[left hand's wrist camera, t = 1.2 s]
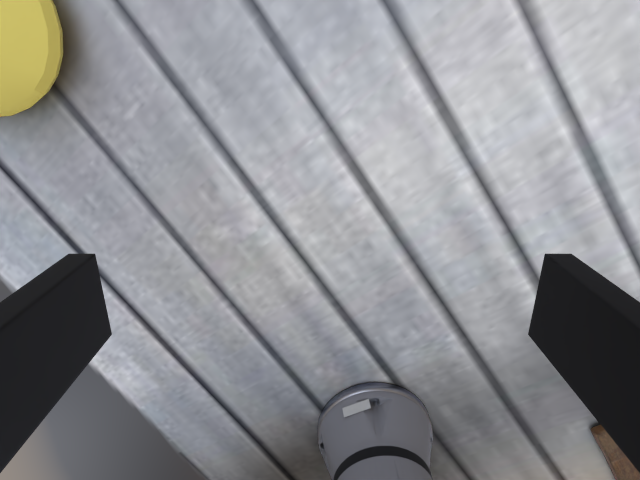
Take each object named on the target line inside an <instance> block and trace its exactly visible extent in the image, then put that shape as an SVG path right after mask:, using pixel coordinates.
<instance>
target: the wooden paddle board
mask: <svg viewBox="0 0 640 480" xmlns="http://www.w3.org/2000/svg"><path fill="white" fill-rule="evenodd" d="M591 432H592V434H593V436H594V438H595V440H596V442H597V444H598V445H599V447H600V449H601V450H602V452H603V454H604V456H605V458H606V460H607V462H608V464H609V466H610V468H611V470H612V473H613V475H614V477H615V479H616V480H640V473H639V472H638V470H637V469H636V468H635V467H634V465H633V464H632V463H631V462H630V460H629V459H628V458H627V457H626V455H625V454H624V453H623V452H622V450H621V449H620V448H619V447H618V445H617V444H616V443H615V442H614V440H613V439H612V438H611V437H610V435H609V434H608V433H607V432H606V430H605V429H604V428H603V427H602V426H601V424H600V425H598V426H594V427H593V428H591Z"/></svg>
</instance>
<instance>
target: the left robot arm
mask: <svg viewBox="0 0 640 480" xmlns="http://www.w3.org/2000/svg"><path fill="white" fill-rule="evenodd" d="M111 335H112V333H111V328H110V323H109V319H108V314H107V309H106V304H105V299H104V295H103V290H102V285H101V280H100V275H99V271H98V266H97V261H96V256H95V254H68V255H66V256H65V257H64V258H62V259H61V260H59V261H58V262H57V263H55V264H54V265H52V266H51V267H50V268H48V269H47V270H45V271H44V272H42V273H41V274H40V275H38V276H37V277H35V278H34V279H33V280H31V281H30V282H28V283H27V284H26V285H24V286H23V287H21V288H20V289H19V290H17V291H16V292H14V293H13V294H12V295H10V296H9V297H7V298H6V299H4V300H3V301H2V302H0V473H1V472H2V470H3V469H4V468H5V467H6V465H7V464H8V463H9V462H10V460H11V459H12V458H13V457H14V455H15V454H16V453H17V452H18V450H19V449H20V448H21V447H22V445H23V444H24V443H25V442H26V440H27V439H28V438H29V437H30V435H31V434H32V433H33V432H34V430H35V429H36V428H37V427H38V426H39V424H40V423H41V422H42V421H43V419H44V418H45V417H46V416H47V414H48V413H49V412H50V411H51V409H52V408H53V407H54V406H55V404H56V403H57V402H58V401H59V399H60V398H61V397H62V396H63V394H64V393H65V392H66V391H67V389H68V388H69V387H70V386H71V384H72V383H73V382H74V381H75V380H76V378H77V377H78V376H79V374H80V373H81V372H82V371H83V369H84V368H85V367H86V366H87V365H88V363H89V362H90V361H91V360H92V358H93V357H94V356H95V355H96V353H97V352H98V351H99V350H100V348H101V347H102V346H103V345H104V343H105V342H106V341H107V340H108V338H109V337H110V336H111ZM528 335H529V336H530V337H531V338H532V340H533V341H534V342H535V343H536V345H537V346H538V347H539V348H540V350H541V351H542V352H543V353H544V355H545V356H546V357H547V358H548V360H549V361H550V362H551V363H552V365H553V366H554V367H555V368H556V370H557V371H558V372H559V373H560V375H561V376H562V377H563V378H564V380H565V381H566V382H567V383H568V384H569V386H570V387H571V388H572V389H573V391H574V392H575V393H576V394H577V396H578V397H579V398H580V399H581V401H582V402H583V403H584V404H585V406H586V407H587V408H588V409H589V411H590V412H591V413H592V414H593V416H594V417H595V418H596V419H597V421H598V422H599V423H600V424H601V426H602V427H603V428H604V429H605V430H606V432H607V433H608V434H609V435H610V437H611V438H612V439H613V440H614V442H615V443H616V444H617V445H618V447H619V448H620V449H621V450H622V452H623V453H624V454H625V455H626V457H627V458H628V459H629V460H630V462H631V463H632V464H633V465H634V467H635V468H636V469H637V470H638V472H639V473H640V302H638V301H637V300H636V299H634V298H633V297H631V296H630V295H628V294H627V293H626V292H624V291H623V290H621V289H620V288H619V287H617V286H616V285H614V284H613V283H612V282H610V281H609V280H607V279H606V278H605V277H603V276H602V275H600V274H599V273H598V272H596V271H595V270H593V269H592V268H590V267H589V266H588V265H586V264H585V263H583V262H582V261H581V260H579V259H578V258H576V257H575V256H574V255H572V254H545V256H544V261H543V266H542V271H541V275H540V280H539V285H538V290H537V295H536V299H535V304H534V309H533V314H532V319H531V323H530V328H529V333H528Z"/></svg>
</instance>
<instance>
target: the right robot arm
mask: <svg viewBox="0 0 640 480" xmlns="http://www.w3.org/2000/svg"><path fill="white" fill-rule="evenodd" d="M432 440H433V432H432V424H431V421H430V418H429V415H428V412H427V410H426V408H425V406H424V404H423V403H422V402H421V401H420V400H419V399H418V397H416V396H415V395H414V394H413V393H411V392H410V391H408V390H406V389H404V388H402V387H399V386H396V385H392V384H388V383H365V384H360V385H356V386H353V387H350V388H348V389H346V390H344V391H342V392H340V393H339V394H337V395H336V396H335V397H333V398H332V399H331V400H330V401H329V402H328V403H327V405H326V406H325V407H324V409H323V410H322V413H321V415H320V417H319V421H318V445H319V448H320V452H321V454H322V457H323V459H324V462H325V464H326V467H327V469H328V472H329V474H330V476H331V479H332V480H433V479H432V476H431V472H430V453H431V447H432Z"/></svg>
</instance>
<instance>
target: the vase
mask: <svg viewBox="0 0 640 480" xmlns="http://www.w3.org/2000/svg"><path fill="white" fill-rule="evenodd" d="M62 58H63V31H62V28H61V24H60V20H59V17H58V13H57V9H56V6H55V5H54V3H53V1H52V0H0V117H2V116H12V115H14V114H17V113H19V112H21V111H24V110H26V109H28V108H30V107H32V106H33V105H34V104H35V103H36V102H37V101H39V100H40V99H41V98H42V97H43V96H44V95H45V94H46V93H48V92H49V90H50V89H51V87H52V85H53V83H54V82H55V80H56V78H57V76H58V75H59V71H60V66H61V62H62Z"/></svg>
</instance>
